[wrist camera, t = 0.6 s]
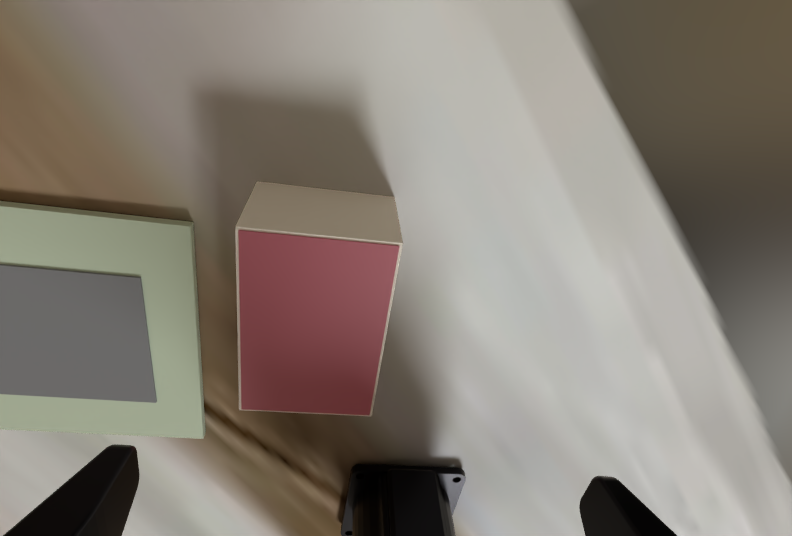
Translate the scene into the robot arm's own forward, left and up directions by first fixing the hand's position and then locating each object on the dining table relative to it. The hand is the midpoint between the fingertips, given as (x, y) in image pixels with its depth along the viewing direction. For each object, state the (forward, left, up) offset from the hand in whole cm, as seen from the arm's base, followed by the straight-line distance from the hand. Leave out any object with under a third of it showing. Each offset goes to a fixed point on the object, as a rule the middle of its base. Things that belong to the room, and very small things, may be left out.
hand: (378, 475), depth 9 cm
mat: (-7, +14, -11) cm, 19 cm away
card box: (-3, +2, -12) cm, 12 cm away
